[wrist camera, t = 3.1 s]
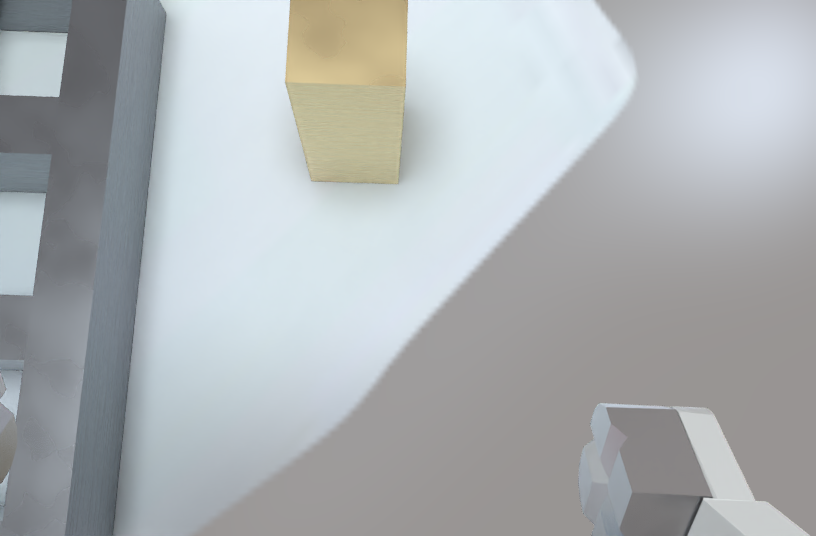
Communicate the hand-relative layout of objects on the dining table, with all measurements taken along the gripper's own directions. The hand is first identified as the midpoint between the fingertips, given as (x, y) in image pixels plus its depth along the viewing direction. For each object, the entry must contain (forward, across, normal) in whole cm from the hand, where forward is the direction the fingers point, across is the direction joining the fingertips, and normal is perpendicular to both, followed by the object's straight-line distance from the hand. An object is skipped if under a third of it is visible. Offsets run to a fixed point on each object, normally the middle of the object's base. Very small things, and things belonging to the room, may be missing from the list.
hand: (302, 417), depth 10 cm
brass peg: (+25, +1, +7) cm, 26 cm away
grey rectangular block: (+21, +15, +11) cm, 28 cm away
